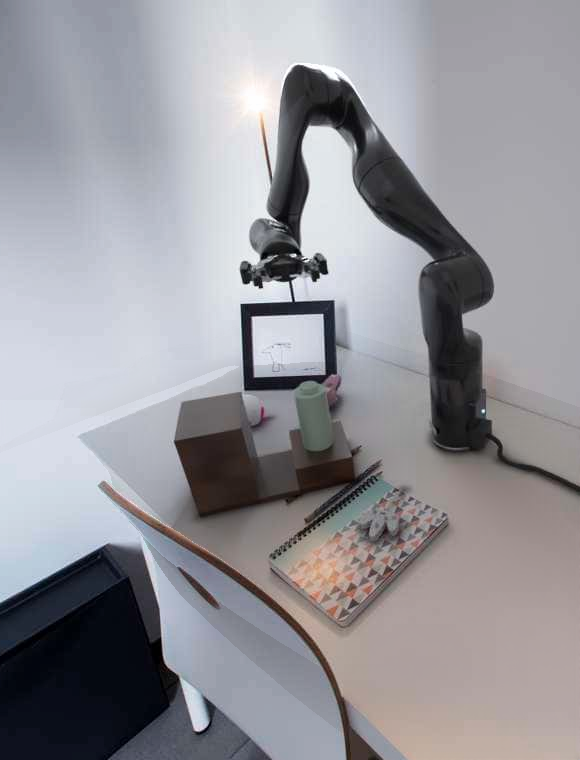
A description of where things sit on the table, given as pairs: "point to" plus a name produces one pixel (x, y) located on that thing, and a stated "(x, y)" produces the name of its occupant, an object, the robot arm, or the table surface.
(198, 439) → the step shelf
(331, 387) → the pink lumpy piece
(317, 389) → the green knobbed cylinder
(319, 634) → the table surface
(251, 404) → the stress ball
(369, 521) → the grey lobed piece
